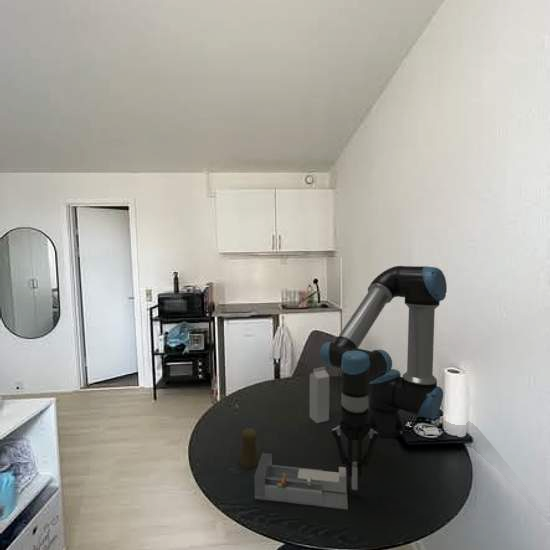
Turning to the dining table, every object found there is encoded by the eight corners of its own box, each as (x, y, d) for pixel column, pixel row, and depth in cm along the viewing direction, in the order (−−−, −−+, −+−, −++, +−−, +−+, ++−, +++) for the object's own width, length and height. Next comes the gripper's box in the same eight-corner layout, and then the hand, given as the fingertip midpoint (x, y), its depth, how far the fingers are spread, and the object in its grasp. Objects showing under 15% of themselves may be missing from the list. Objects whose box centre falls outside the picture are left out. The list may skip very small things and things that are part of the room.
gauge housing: (346, 482, 104) (346, 460, 104) (347, 509, 94) (347, 485, 93) (262, 474, 109) (262, 452, 108) (254, 498, 98) (254, 475, 97)
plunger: (345, 482, 103) (345, 467, 102) (346, 500, 96) (346, 483, 95) (298, 478, 105) (298, 462, 105) (296, 494, 98) (296, 478, 98)
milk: (309, 417, 146) (309, 366, 144) (321, 414, 148) (321, 364, 147) (317, 423, 140) (317, 371, 139) (329, 420, 143) (329, 368, 142)
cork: (244, 470, 111) (244, 437, 110) (237, 460, 116) (237, 428, 115) (261, 464, 114) (261, 432, 113) (253, 455, 119) (253, 424, 118)
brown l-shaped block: (285, 490, 99) (285, 473, 99) (283, 500, 95) (283, 482, 95) (277, 489, 100) (277, 472, 100) (275, 499, 96) (275, 481, 95)
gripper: (377, 402, 100) (376, 480, 101) (331, 399, 102) (331, 475, 103) (380, 414, 92) (379, 498, 94) (331, 411, 94) (331, 493, 96)
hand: (354, 486), depth 99 cm, fingers closed
